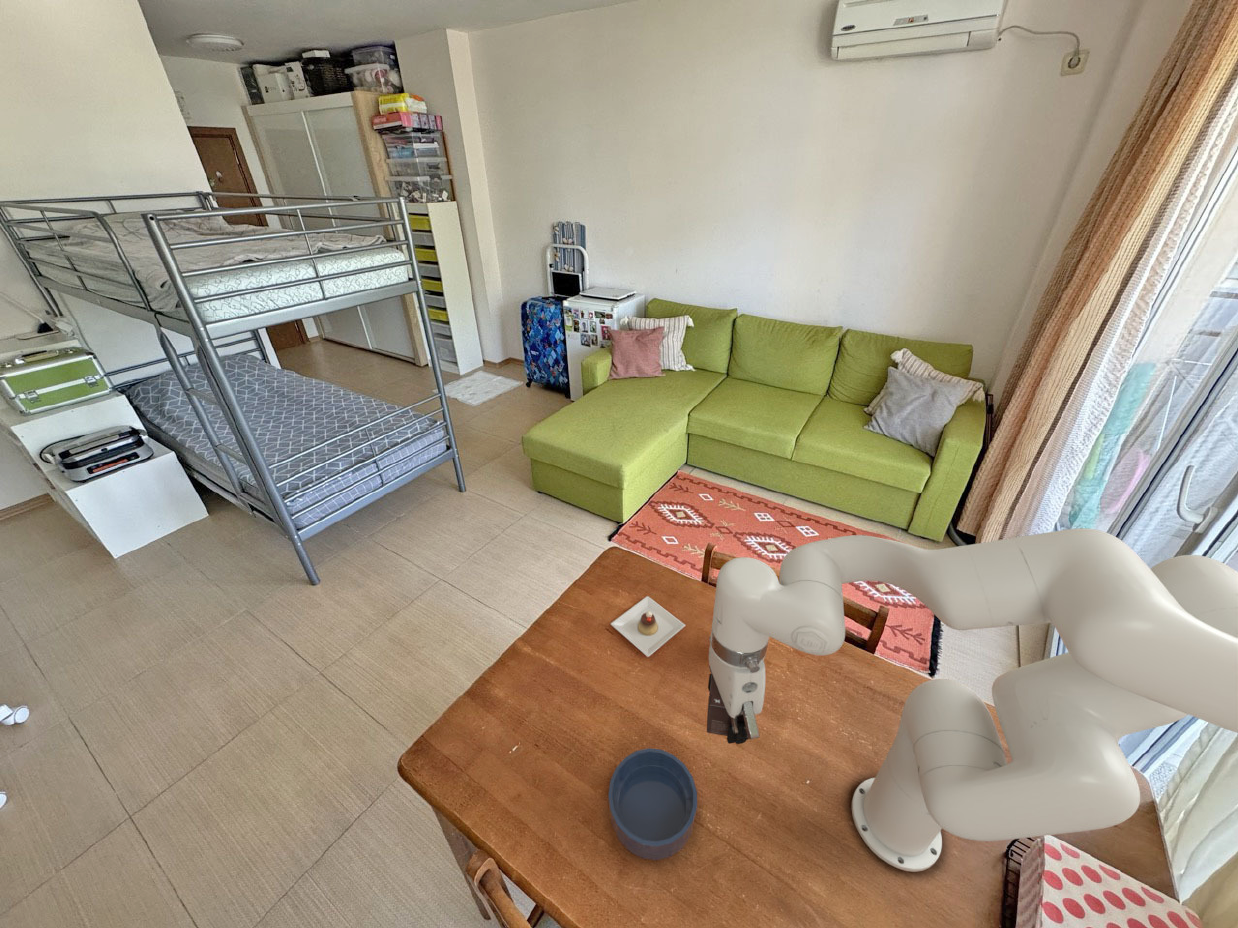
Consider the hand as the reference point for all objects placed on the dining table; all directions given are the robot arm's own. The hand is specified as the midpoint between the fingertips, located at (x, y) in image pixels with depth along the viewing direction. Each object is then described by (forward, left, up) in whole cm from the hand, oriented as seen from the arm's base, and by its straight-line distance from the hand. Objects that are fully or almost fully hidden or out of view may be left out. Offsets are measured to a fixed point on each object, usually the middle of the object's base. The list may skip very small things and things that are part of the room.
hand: (727, 712), depth 76 cm
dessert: (+5, -32, -17) cm, 36 cm away
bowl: (+13, +4, -17) cm, 22 cm away
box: (0, 0, -2) cm, 2 cm away
